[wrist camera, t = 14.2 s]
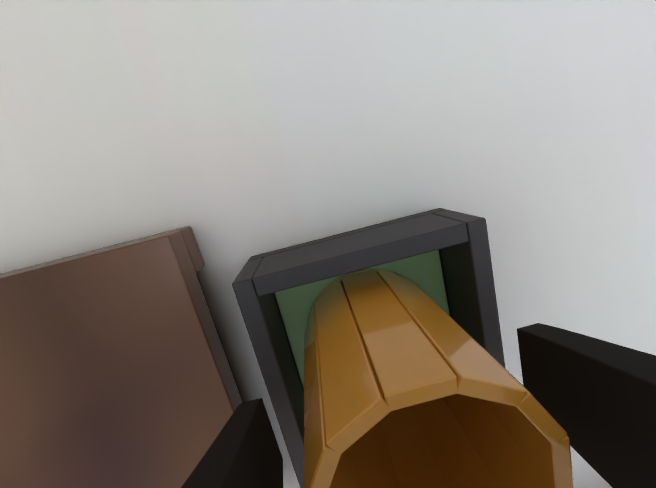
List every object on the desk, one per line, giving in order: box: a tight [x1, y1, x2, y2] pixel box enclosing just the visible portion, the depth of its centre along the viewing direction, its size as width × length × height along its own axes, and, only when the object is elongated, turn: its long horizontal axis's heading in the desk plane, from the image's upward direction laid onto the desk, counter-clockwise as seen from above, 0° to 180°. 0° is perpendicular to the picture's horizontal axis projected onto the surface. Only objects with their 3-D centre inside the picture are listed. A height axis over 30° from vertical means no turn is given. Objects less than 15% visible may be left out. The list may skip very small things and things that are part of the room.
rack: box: [232, 208, 505, 488], centre depth 12 cm, size 8×15×3 cm, turn 14°
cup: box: [304, 268, 573, 488], centre depth 9 cm, size 5×5×6 cm
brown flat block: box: [0, 226, 243, 488], centre depth 12 cm, size 10×12×2 cm
